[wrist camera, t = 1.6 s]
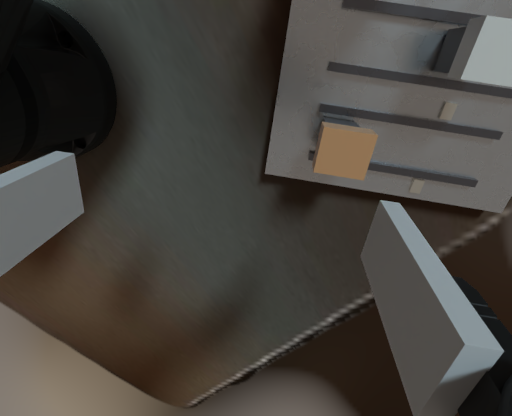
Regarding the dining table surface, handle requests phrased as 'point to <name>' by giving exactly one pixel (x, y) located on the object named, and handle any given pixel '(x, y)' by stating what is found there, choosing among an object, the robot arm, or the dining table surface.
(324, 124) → the fader
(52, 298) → the dining table surface
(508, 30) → the fader
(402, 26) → the console
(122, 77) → the dining table surface
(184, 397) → the dining table surface
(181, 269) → the dining table surface
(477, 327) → the robot arm
